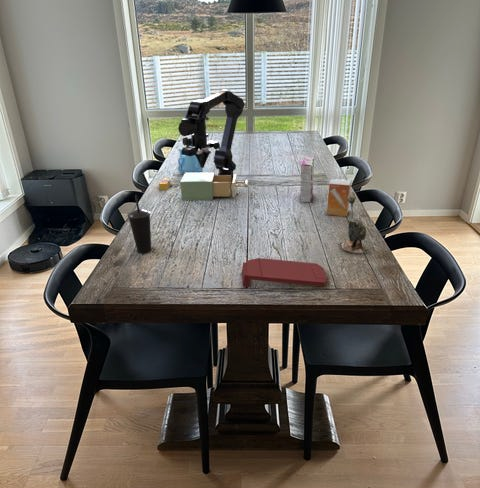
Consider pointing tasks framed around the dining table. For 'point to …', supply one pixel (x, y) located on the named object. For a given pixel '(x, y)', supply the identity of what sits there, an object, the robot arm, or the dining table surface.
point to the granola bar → (164, 184)
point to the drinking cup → (141, 228)
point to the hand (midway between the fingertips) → (202, 167)
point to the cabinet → (197, 186)
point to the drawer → (225, 185)
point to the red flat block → (283, 272)
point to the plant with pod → (355, 232)
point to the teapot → (188, 164)
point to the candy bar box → (307, 180)
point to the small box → (338, 197)
